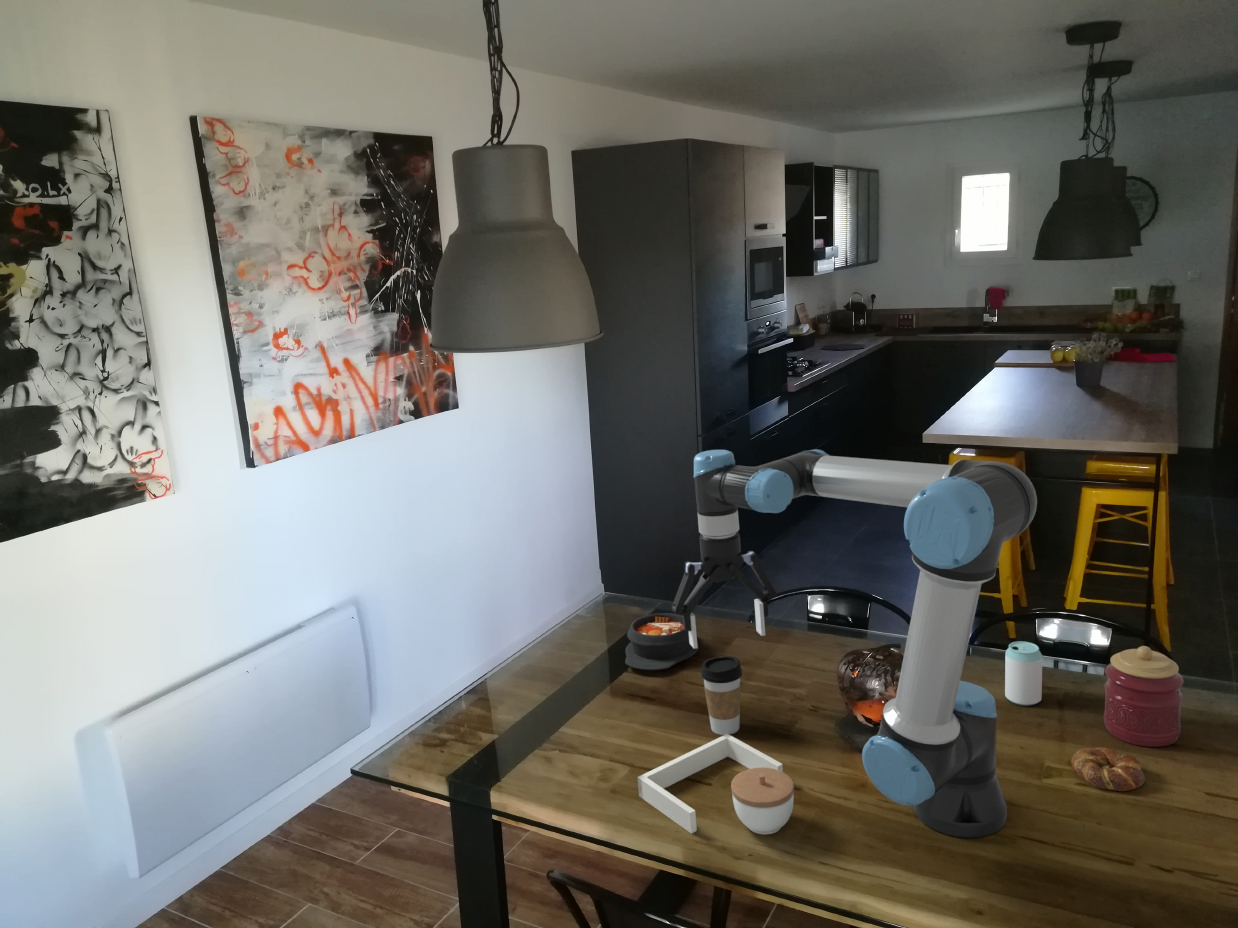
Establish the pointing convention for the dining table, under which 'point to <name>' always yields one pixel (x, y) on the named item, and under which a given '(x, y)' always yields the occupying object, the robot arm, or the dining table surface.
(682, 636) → the casserole
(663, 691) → the dining table surface
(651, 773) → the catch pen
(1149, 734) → the canister
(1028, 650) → the can
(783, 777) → the lidded jar
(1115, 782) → the pretzel
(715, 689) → the coffee cup
